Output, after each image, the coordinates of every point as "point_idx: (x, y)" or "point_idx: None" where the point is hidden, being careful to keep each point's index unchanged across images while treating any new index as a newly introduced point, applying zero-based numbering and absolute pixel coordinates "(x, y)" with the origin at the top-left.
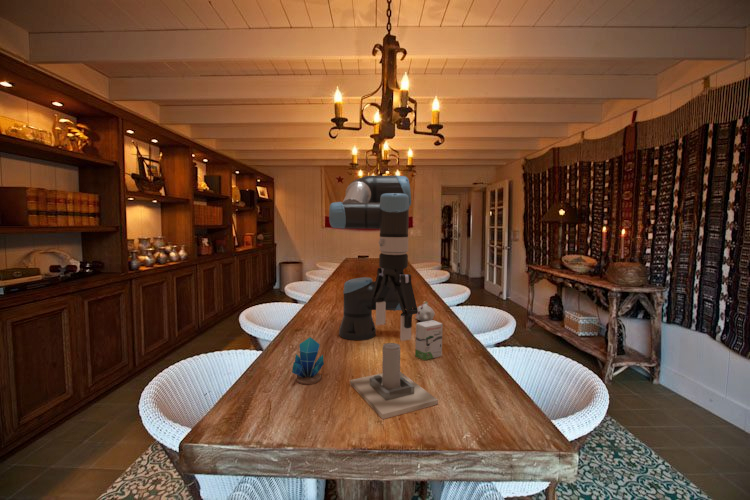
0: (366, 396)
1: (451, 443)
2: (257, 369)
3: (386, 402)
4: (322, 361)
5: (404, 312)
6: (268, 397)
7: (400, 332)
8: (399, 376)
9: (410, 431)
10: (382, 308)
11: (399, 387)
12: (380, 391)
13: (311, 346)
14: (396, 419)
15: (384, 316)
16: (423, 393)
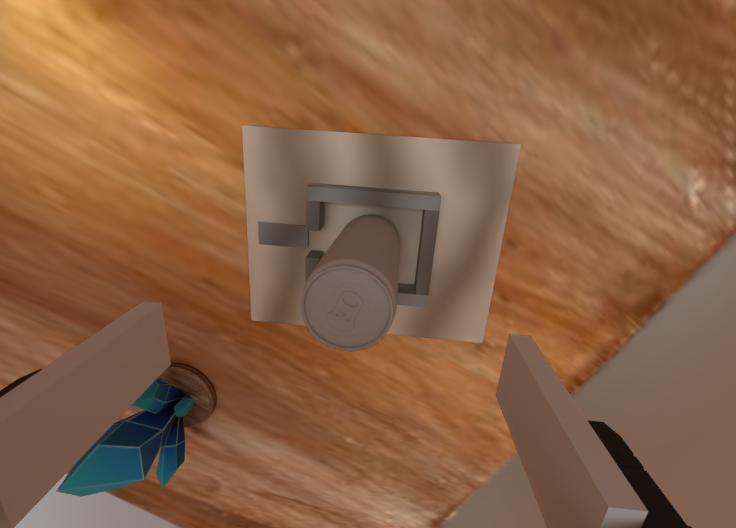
0: None
1: (684, 252)
2: None
3: (435, 301)
4: (155, 396)
5: None
6: (245, 491)
7: (511, 433)
8: (395, 241)
9: (569, 308)
10: (62, 416)
11: (396, 230)
12: None
13: (112, 473)
14: (502, 306)
15: (120, 343)
16: (455, 161)
